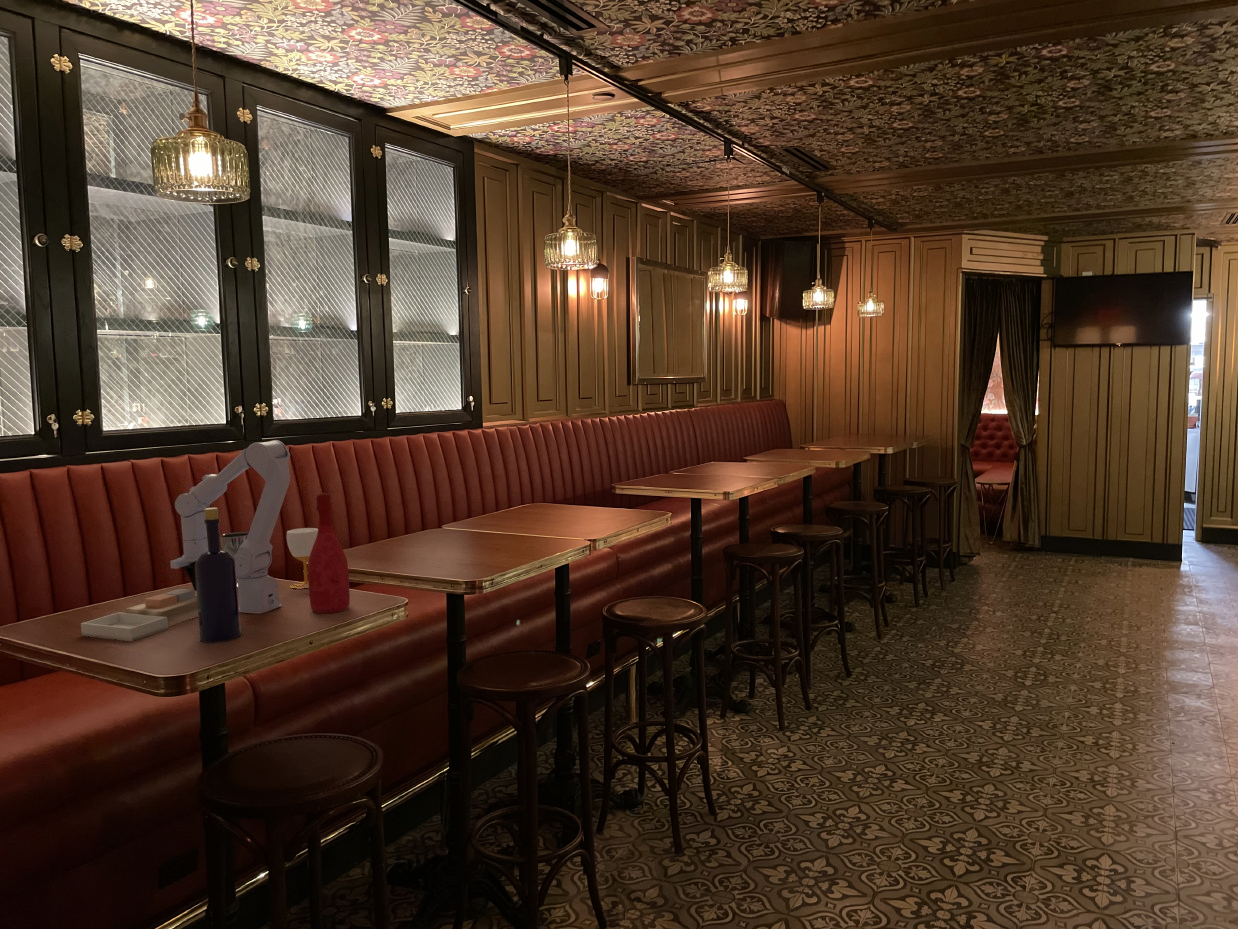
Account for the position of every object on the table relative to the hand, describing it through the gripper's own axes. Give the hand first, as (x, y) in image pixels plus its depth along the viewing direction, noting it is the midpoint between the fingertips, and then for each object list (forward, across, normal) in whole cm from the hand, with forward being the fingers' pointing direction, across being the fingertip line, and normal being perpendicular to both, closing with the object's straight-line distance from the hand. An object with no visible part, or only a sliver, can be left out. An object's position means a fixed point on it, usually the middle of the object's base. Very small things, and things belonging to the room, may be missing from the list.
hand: (199, 590), depth 227 cm
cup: (+5, -28, +10) cm, 30 cm away
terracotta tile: (+1, +12, 0) cm, 12 cm away
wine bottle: (+5, -8, +35) cm, 36 cm away
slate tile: (+1, +6, 0) cm, 6 cm away
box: (+5, +22, 0) cm, 23 cm away
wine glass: (+5, -23, -10) cm, 26 cm away
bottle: (+5, +19, +26) cm, 32 cm away
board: (+5, +10, 0) cm, 11 cm away
